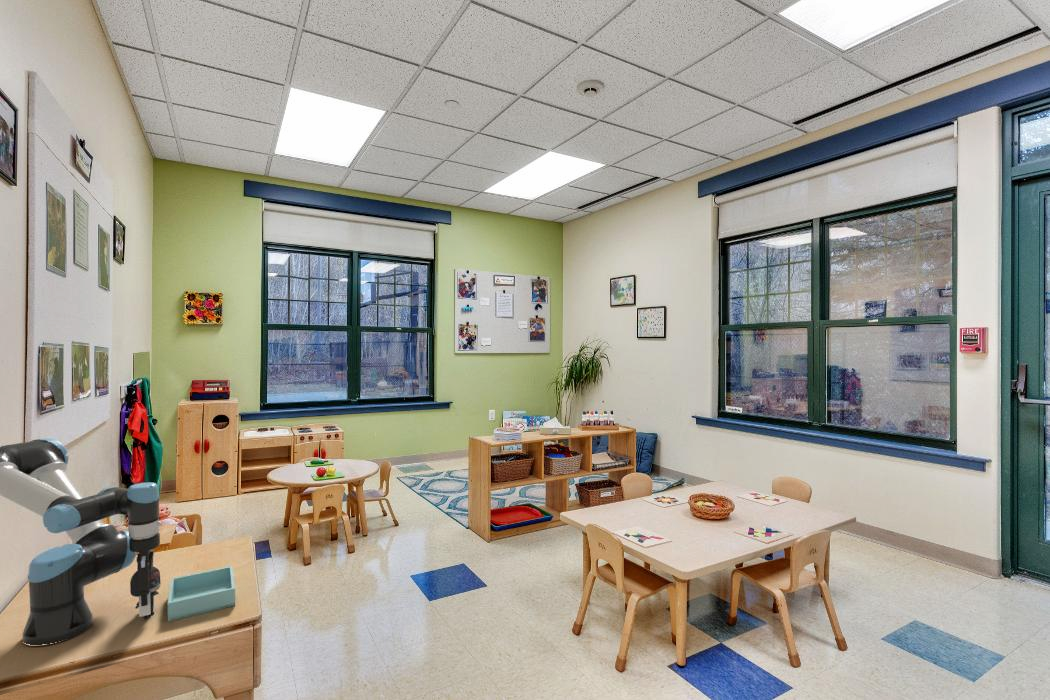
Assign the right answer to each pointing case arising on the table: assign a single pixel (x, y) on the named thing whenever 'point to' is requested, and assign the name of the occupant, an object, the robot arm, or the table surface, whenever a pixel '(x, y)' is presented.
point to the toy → (153, 586)
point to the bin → (201, 593)
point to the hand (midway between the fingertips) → (146, 607)
